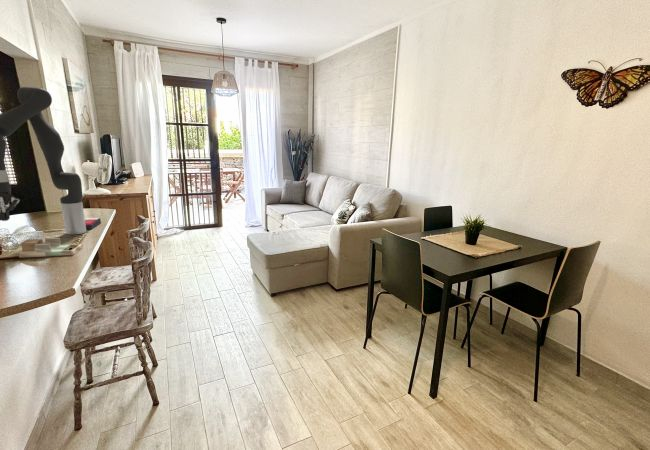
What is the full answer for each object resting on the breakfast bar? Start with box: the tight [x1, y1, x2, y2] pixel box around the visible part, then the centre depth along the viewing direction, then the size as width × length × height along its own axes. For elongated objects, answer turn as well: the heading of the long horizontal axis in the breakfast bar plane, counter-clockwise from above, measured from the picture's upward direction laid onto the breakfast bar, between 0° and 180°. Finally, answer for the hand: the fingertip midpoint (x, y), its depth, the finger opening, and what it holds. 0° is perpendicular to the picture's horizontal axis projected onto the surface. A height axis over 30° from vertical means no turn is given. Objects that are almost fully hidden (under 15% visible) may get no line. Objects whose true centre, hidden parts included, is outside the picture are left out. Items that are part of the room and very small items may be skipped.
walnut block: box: [20, 238, 44, 252], centre depth 145 cm, size 6×6×4 cm
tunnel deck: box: [17, 237, 84, 259], centre depth 148 cm, size 10×20×6 cm, turn 107°
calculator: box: [85, 217, 102, 231], centre depth 191 cm, size 11×4×15 cm
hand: (5, 220), depth 140 cm, fingers closed
